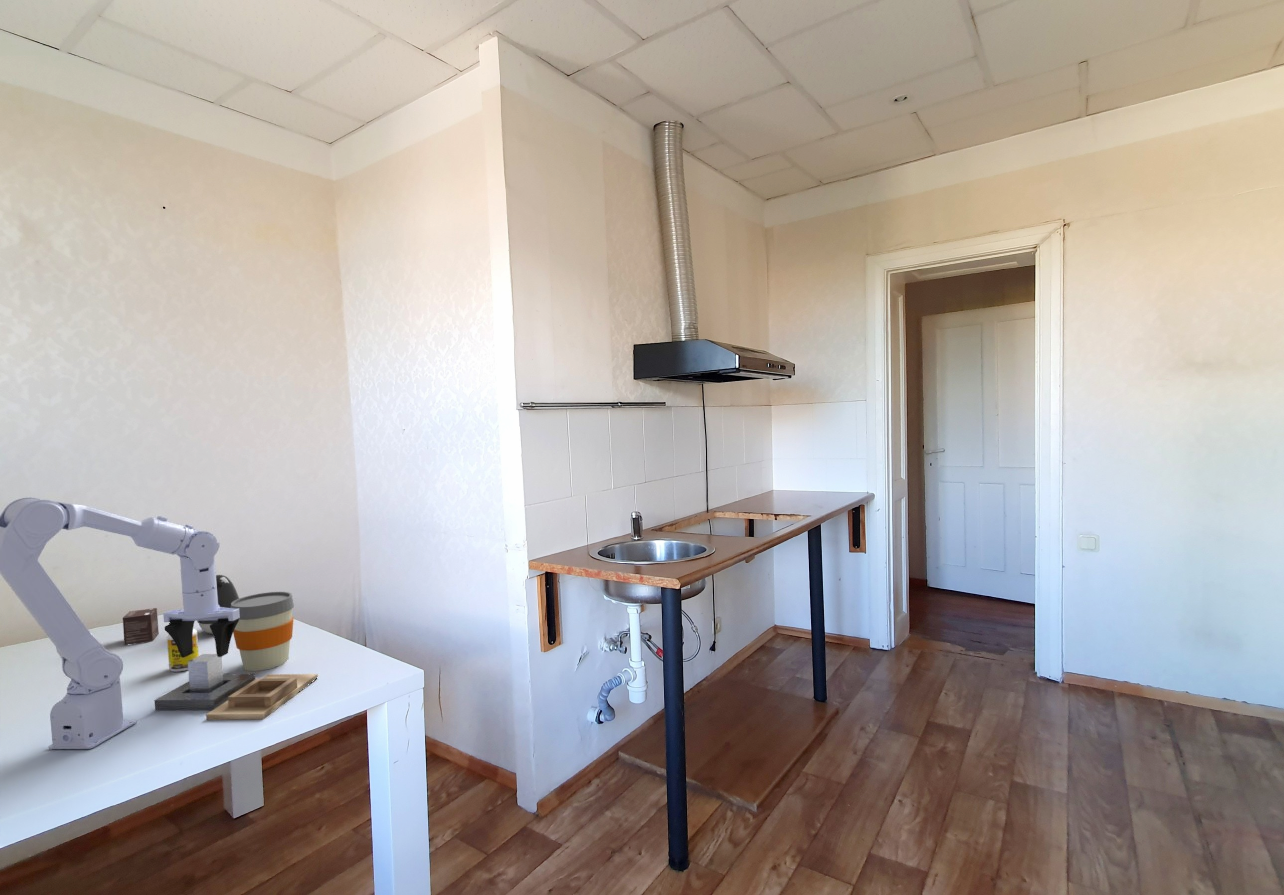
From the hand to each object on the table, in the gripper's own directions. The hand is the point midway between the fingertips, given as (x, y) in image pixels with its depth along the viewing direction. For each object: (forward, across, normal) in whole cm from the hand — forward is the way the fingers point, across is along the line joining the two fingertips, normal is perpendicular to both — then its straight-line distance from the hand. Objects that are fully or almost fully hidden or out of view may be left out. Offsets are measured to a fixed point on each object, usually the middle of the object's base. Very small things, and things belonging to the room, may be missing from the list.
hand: (204, 655), depth 128 cm
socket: (+8, 0, 0) cm, 8 cm away
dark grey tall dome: (+9, +27, -40) cm, 49 cm away
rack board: (+8, -13, +1) cm, 16 cm away
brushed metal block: (+8, 0, 0) cm, 9 cm away
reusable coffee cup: (+9, -1, -17) cm, 19 cm away
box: (+9, +44, -34) cm, 56 cm away
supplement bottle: (+9, +17, -15) cm, 24 cm away
